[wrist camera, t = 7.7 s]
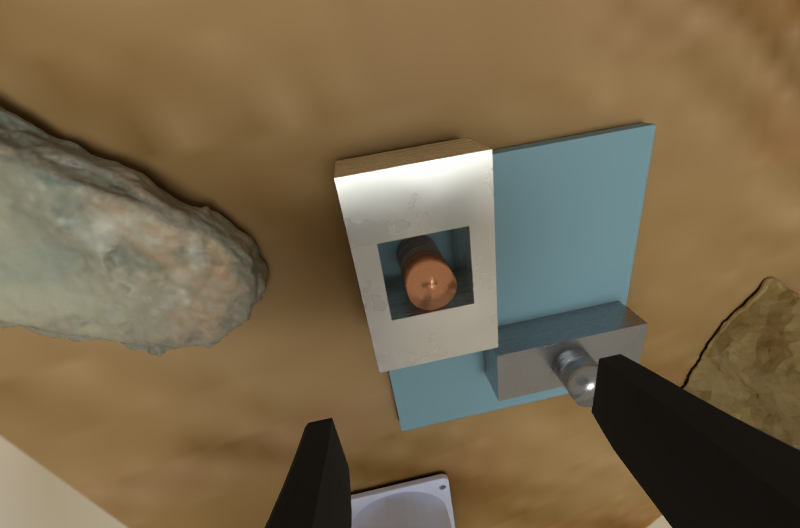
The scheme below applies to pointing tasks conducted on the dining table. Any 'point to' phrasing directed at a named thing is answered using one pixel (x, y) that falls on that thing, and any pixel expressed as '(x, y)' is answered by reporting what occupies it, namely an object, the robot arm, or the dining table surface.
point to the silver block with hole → (413, 216)
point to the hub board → (539, 254)
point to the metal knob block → (562, 351)
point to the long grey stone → (113, 251)
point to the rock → (756, 364)
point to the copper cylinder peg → (425, 273)
